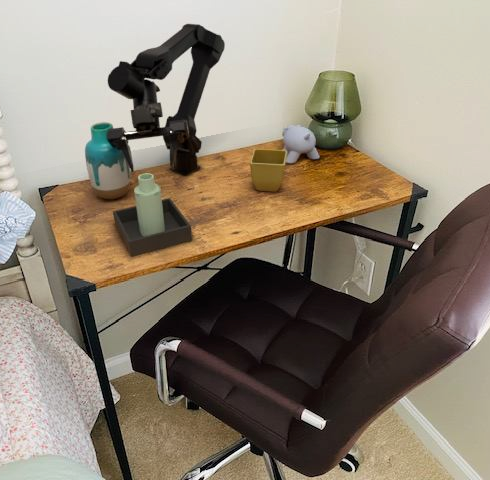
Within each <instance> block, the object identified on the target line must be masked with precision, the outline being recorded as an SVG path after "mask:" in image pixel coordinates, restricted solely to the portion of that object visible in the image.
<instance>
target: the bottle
mask: <svg viewBox="0 0 490 480" xmlns="http://www.w3.org/2000/svg"><path fill="white" fill-rule="evenodd" d="M137 181H138V185H136V186H135V187H134V189H133V192H134V193H133V194H134V201H135V206H136V208H137V215H138V222H139V229H140V233H141V235H142V236H148V235H152V234H156V233H160V232H163V231H165V226H164V216H163V207H162V200H163V198H162V188H161V185H159V184H158V183H155V176H154V174H152V173H150V172H146V173H145V172H144V173H141V174H139V175H138V176H137Z"/></svg>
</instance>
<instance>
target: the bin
mask: <svg viewBox="0 0 490 480" xmlns="http://www.w3.org/2000/svg"><path fill="white" fill-rule="evenodd" d="M162 207H163V216H164V226H165V231H163V232H160V233H156V234H152V235H148V236H142V235H141V233H140V229H139V222H138V215H137V208H136V205H133V206H129V207H125V208H120V209H115V210H112V215H113V220H114V226H115V228H116V230H117V232H118V234H119V236H120V238H121V240H122V242H123V244H124V246H125V247H126V249H127V252H128V253H129V255H130V258H132V257H137V256H141V255H144V254H148V253H151V252H155V251H159V250H162V249H167V248H171V247H174V246H178V245H183V244H185V243H189V242H192V241H193V234H192V225H191V224H190V223H189V222H188V220H187V218H186V217H185V216H184V215H183V213H182V212H181V210H180V209H179V208H178V206H177V205H176V204H175V202H173V200H172V199H171V197H167V198H164V199H163V198H162Z"/></svg>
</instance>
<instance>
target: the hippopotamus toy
mask: <svg viewBox="0 0 490 480" xmlns="http://www.w3.org/2000/svg"><path fill="white" fill-rule="evenodd" d="M281 135H282V137H283V138H282V142H283V145H284V146H283V147H282V150H287V156H286V163H285V164H295V163H296V162H297V161H298V159H299V158H300V156H301V154H305V155H306V157H308V159H309V160H318V159H320V154H319V152H318V150H317V148H316V147H315V146H316V142H317V140H316V136H315V134H314V132H312V131H311V130H310V129H308V128H307V127H304V126H302V125H301V124H298V125H294V124H289V125H287V126H284V127H283V128H282V133H281Z"/></svg>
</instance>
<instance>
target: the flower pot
mask: <svg viewBox="0 0 490 480" xmlns="http://www.w3.org/2000/svg"><path fill="white" fill-rule="evenodd" d="M286 156H287V150H283V149H270V148H269V149H268V148H267V149H266V148H254V149H253V150H252V155H251V159H250V161H249V167H250V178H251V182H252V184H253V186H254V188H255V189H256V191H258V192H272V193H274V192H275V193H276V192H278V190H279V189H280V188H281V185H282V183H283V180H284V174H285V169H286V164H287V163H286Z"/></svg>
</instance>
